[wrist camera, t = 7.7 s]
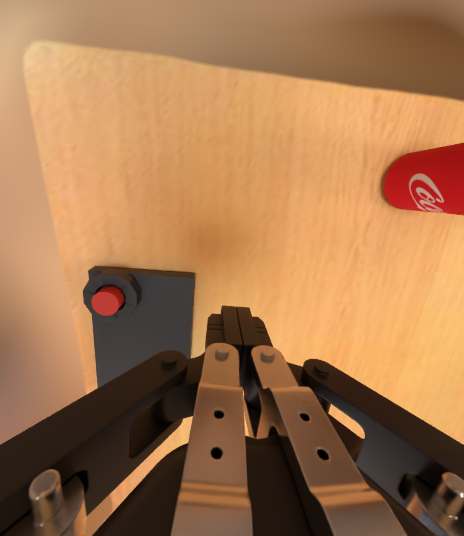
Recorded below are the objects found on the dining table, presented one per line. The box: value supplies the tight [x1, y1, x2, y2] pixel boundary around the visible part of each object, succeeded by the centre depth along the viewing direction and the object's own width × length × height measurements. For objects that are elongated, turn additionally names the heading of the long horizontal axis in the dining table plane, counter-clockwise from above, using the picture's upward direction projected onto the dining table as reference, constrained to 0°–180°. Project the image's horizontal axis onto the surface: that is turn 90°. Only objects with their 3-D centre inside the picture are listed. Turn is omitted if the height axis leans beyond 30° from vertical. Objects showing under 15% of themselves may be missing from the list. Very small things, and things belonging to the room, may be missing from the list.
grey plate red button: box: [83, 266, 195, 388], centre depth 31 cm, size 18×12×4 cm, turn 174°
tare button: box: [92, 286, 124, 316], centre depth 27 cm, size 3×3×2 cm
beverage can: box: [384, 143, 464, 215], centre depth 23 cm, size 6×6×12 cm
